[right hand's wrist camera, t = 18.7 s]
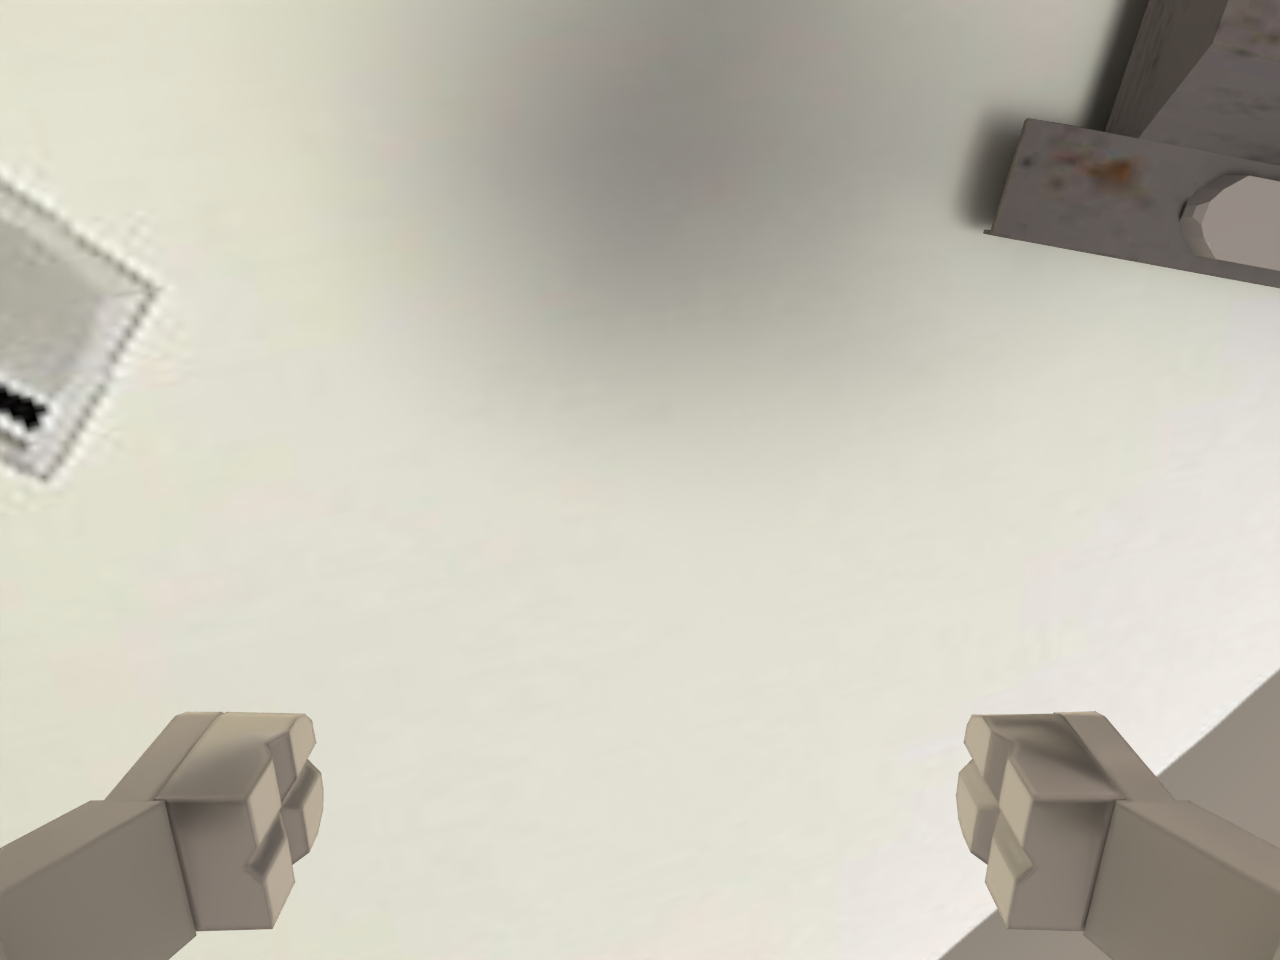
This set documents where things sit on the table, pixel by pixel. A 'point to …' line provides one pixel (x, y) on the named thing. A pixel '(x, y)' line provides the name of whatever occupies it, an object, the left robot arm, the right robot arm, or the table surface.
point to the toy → (1168, 152)
